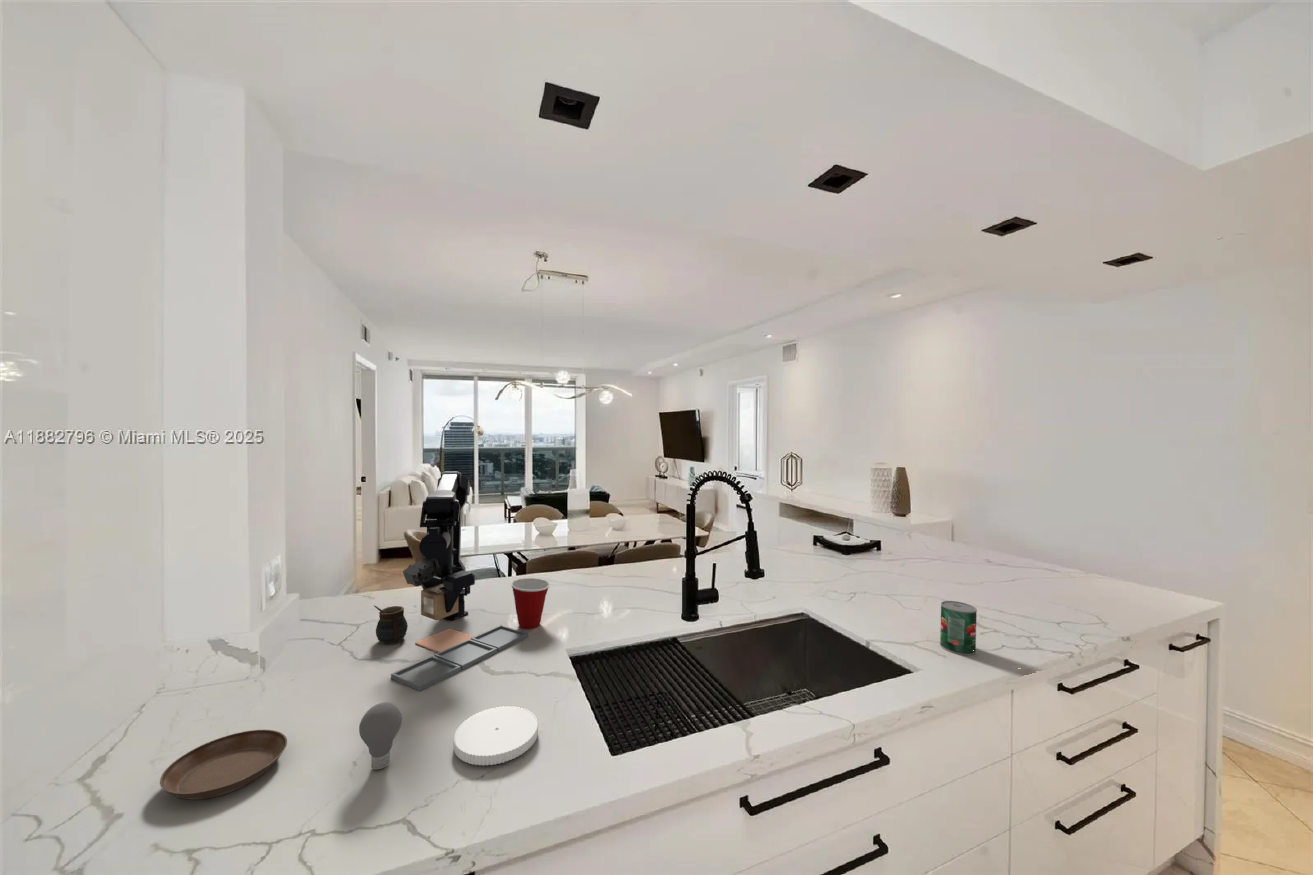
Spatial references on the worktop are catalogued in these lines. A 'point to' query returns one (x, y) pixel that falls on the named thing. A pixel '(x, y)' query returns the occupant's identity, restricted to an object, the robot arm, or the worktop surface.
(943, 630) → the canned tomato
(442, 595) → the cardboard box
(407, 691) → the worktop surface
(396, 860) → the worktop surface
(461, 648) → the tray
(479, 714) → the plastic lid
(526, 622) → the plastic cup
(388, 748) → the light bulb
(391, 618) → the mate gourd
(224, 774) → the saucer
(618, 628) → the worktop surface
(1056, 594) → the worktop surface
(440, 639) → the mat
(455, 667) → the tray
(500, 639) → the tray
